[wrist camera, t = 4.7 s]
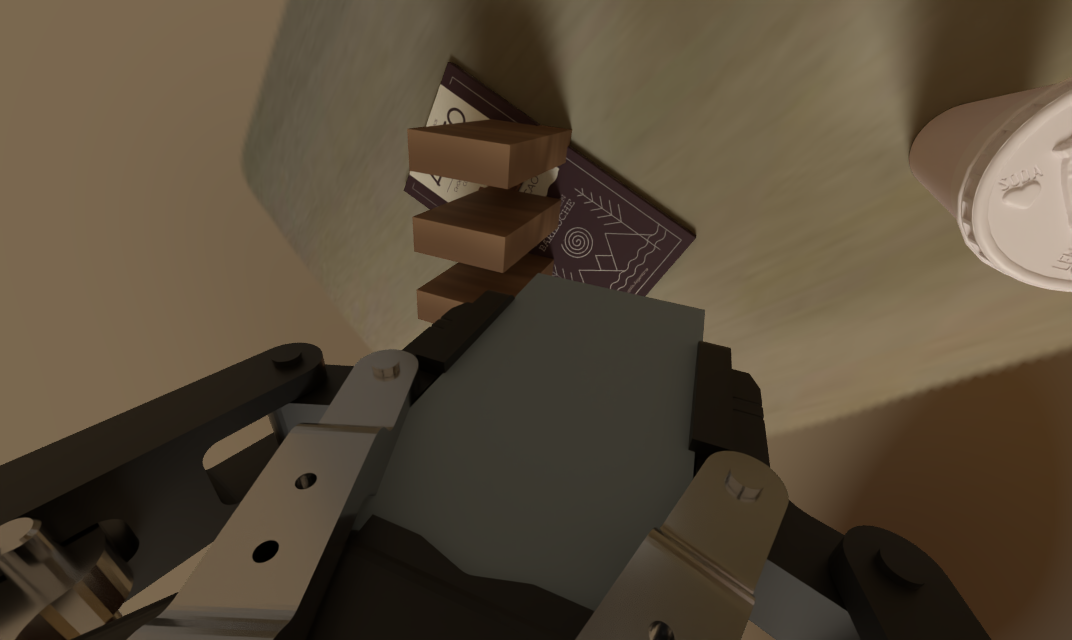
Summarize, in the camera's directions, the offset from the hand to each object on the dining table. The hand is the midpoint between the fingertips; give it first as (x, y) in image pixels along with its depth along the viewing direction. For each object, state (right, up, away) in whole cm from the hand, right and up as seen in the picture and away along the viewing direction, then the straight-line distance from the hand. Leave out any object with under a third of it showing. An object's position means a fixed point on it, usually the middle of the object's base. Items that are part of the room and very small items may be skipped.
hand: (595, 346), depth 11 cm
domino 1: (-2, +12, +15) cm, 19 cm away
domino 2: (-2, +8, +17) cm, 19 cm away
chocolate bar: (-1, +8, +17) cm, 19 cm away
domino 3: (-3, +5, +19) cm, 19 cm away
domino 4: (+1, +1, +2) cm, 2 cm away
